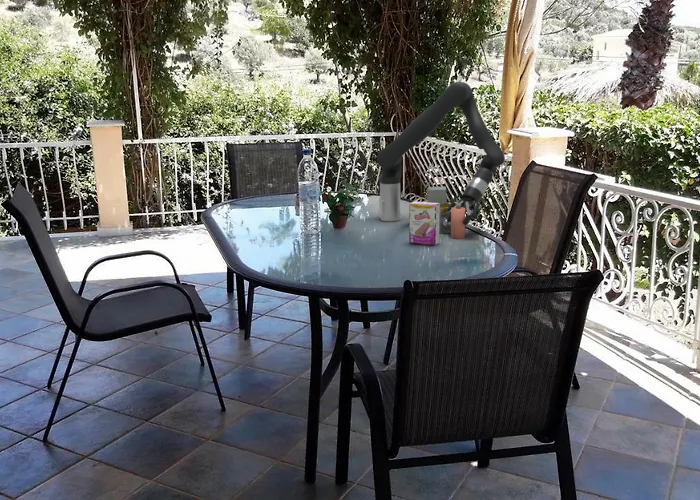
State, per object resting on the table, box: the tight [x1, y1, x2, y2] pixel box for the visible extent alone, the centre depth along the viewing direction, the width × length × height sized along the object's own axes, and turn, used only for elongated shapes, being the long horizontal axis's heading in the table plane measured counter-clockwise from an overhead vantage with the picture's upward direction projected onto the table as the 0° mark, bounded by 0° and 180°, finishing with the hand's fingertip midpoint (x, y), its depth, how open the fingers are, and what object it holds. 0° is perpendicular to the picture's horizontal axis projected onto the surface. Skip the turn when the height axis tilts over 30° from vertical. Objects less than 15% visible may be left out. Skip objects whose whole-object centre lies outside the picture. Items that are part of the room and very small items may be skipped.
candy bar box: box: [408, 200, 440, 247], centre depth 257 cm, size 11×5×16 cm, turn 65°
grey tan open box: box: [439, 202, 452, 234], centre depth 278 cm, size 11×16×10 cm
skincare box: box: [427, 185, 448, 203], centre depth 291 cm, size 8×7×16 cm
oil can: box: [450, 203, 466, 240], centre depth 265 cm, size 6×6×14 cm
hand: (456, 222), depth 265 cm, fingers open, 8 cm apart
